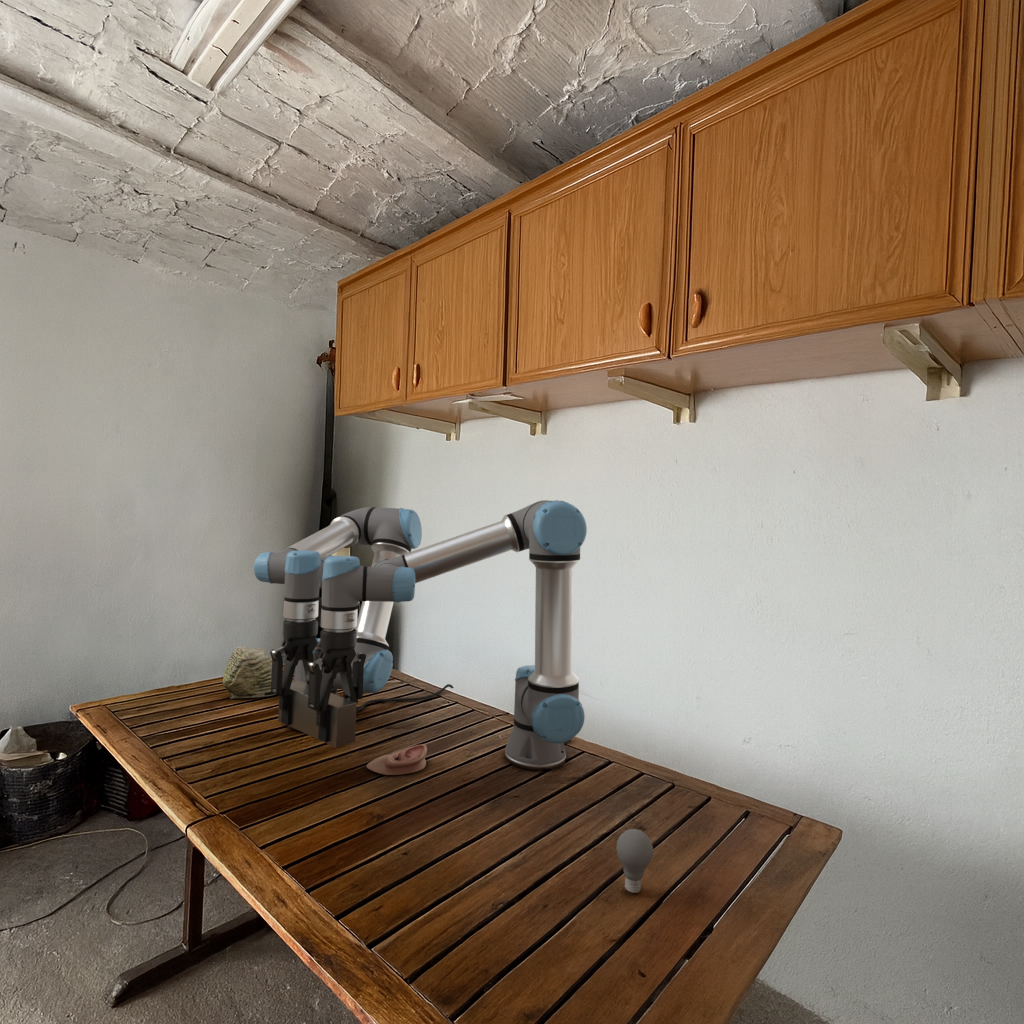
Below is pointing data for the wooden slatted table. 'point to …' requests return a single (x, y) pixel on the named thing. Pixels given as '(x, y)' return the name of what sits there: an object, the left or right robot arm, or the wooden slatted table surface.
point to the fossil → (248, 673)
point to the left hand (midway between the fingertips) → (297, 720)
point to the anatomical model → (400, 761)
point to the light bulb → (634, 857)
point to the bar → (340, 716)
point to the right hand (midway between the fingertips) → (334, 736)
